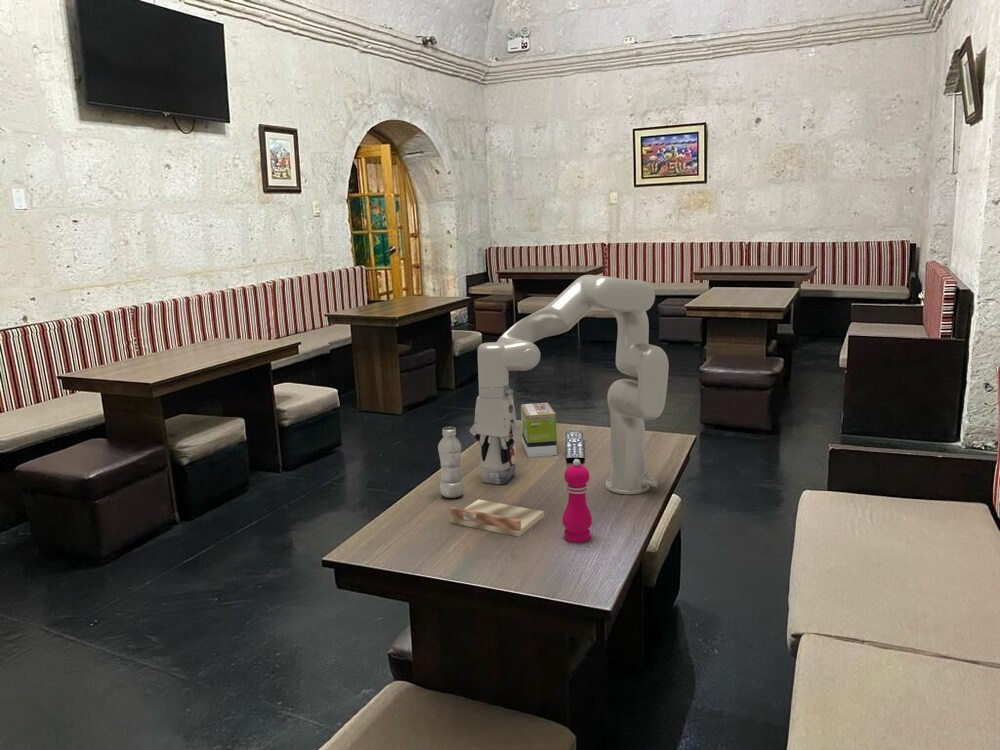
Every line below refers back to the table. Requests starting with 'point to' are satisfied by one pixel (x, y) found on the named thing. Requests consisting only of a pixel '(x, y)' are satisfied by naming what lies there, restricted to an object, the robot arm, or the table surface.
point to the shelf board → (496, 517)
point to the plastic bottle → (450, 464)
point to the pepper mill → (576, 504)
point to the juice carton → (500, 476)
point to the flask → (495, 456)
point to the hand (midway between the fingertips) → (495, 460)
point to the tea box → (538, 429)
